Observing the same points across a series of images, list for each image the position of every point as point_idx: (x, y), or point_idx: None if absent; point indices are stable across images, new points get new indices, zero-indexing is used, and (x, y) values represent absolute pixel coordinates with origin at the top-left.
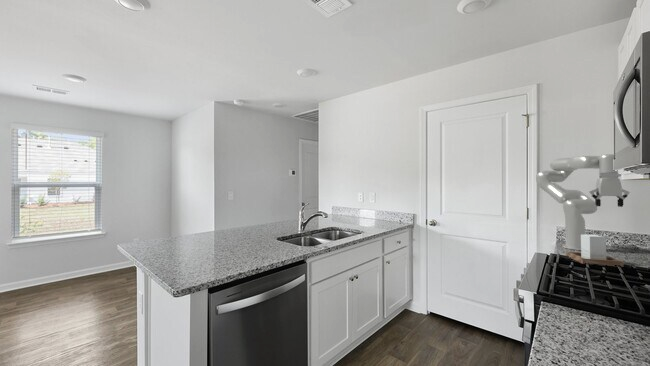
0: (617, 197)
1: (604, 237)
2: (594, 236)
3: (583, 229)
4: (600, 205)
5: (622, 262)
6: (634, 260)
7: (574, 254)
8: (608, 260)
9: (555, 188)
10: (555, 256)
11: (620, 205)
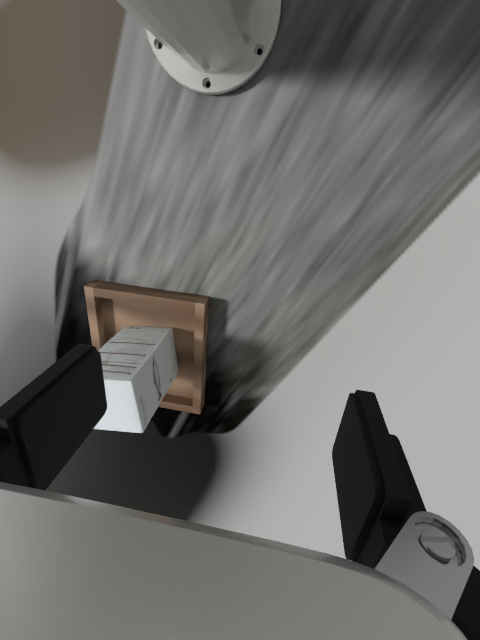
0: (386, 553)
1: (139, 430)
2: (102, 429)
3: (203, 5)
4: (100, 416)
5: (198, 412)
6: (317, 304)
7: (96, 337)
8: (164, 406)
9: None
10: (56, 297)
11: (335, 456)
